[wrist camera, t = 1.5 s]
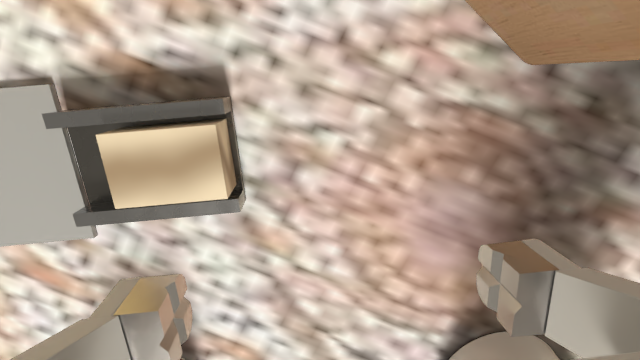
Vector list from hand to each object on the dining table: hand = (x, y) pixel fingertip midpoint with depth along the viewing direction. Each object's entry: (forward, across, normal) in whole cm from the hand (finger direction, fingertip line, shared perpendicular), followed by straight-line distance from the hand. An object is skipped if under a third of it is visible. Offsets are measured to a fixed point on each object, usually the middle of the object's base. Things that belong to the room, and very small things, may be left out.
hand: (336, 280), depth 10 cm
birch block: (+23, +11, +1) cm, 25 cm away
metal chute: (+23, +13, +1) cm, 27 cm away
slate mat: (+24, +26, +1) cm, 35 cm away
